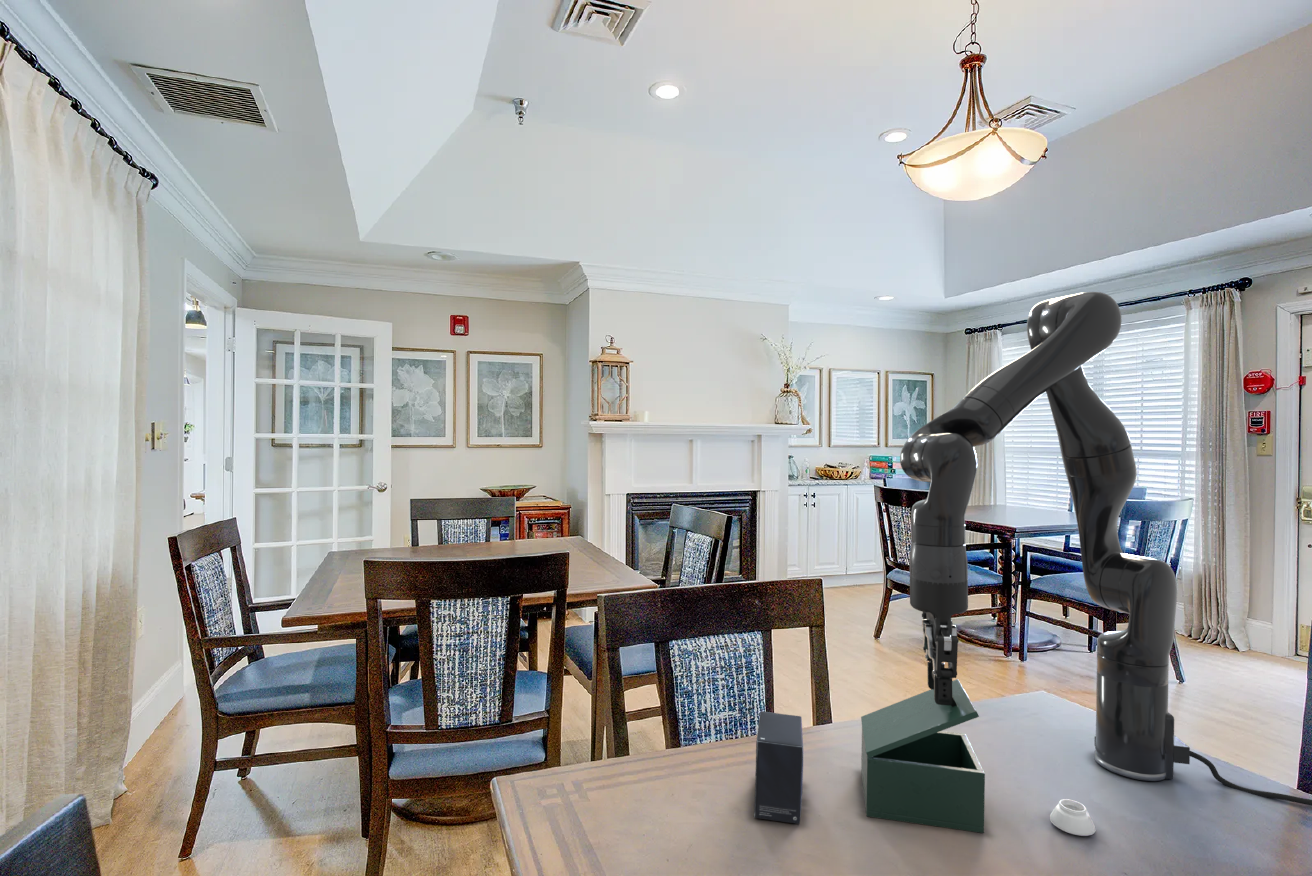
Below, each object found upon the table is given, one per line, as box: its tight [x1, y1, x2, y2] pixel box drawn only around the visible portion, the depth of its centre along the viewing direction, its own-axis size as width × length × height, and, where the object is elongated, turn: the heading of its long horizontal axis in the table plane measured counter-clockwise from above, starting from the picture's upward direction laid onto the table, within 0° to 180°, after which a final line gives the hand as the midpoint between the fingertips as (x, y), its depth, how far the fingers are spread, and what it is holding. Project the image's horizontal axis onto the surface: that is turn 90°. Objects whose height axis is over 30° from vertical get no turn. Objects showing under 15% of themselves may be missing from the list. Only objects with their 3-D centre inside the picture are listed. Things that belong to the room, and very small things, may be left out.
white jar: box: [1049, 798, 1096, 837], centre depth 88 cm, size 5×3×5 cm
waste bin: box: [860, 727, 986, 834], centre depth 94 cm, size 15×12×8 cm
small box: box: [753, 710, 804, 825], centre depth 94 cm, size 11×6×10 cm, turn 168°
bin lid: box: [860, 669, 980, 758], centre depth 95 cm, size 15×12×5 cm
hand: (939, 695), depth 94 cm, fingers closed on bin lid, 5 cm apart
